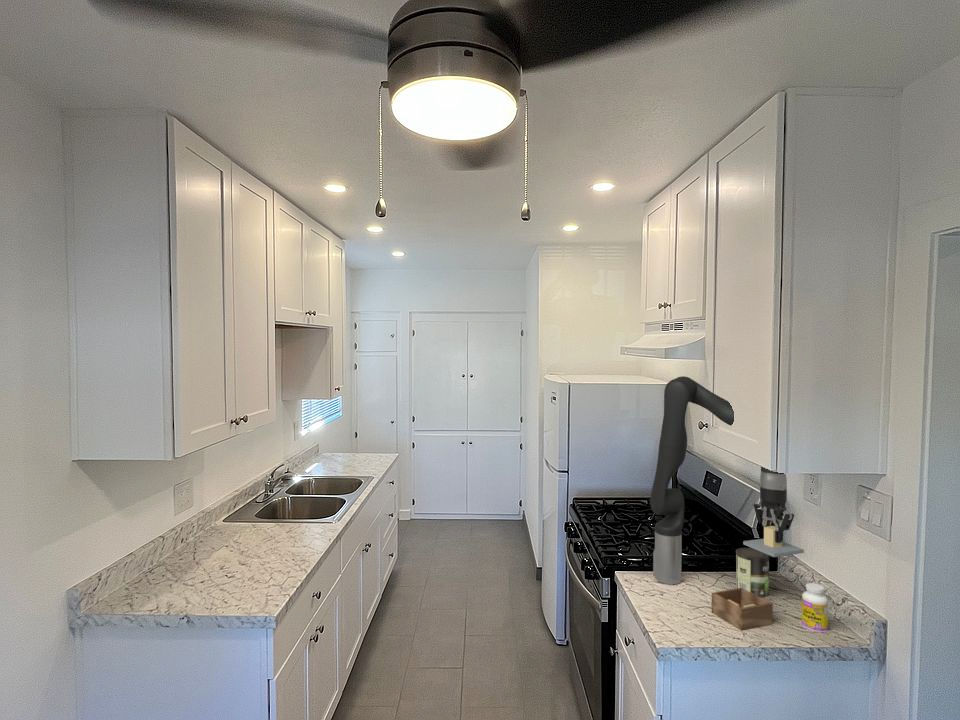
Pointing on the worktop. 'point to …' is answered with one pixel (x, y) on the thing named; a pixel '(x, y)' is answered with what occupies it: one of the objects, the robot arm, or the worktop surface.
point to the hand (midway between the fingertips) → (773, 539)
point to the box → (742, 609)
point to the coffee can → (752, 571)
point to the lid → (772, 544)
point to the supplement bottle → (815, 608)
